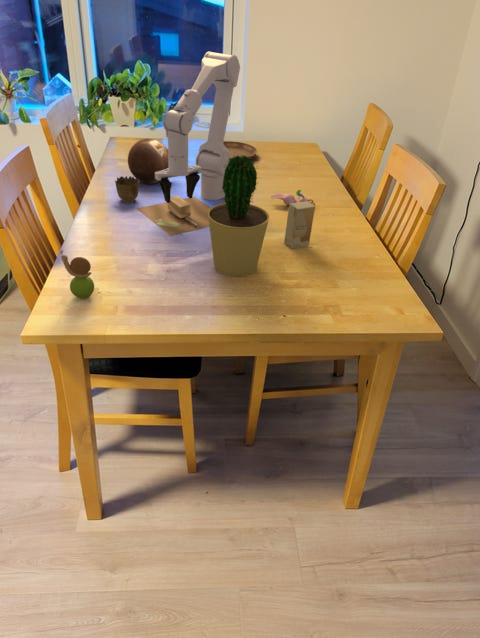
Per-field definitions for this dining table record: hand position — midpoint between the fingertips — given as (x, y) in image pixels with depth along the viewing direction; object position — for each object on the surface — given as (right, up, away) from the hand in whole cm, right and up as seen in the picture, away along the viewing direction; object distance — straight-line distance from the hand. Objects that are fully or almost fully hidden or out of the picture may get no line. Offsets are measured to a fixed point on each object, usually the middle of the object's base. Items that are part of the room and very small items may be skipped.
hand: (178, 199), depth 157 cm
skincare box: (+35, -15, -7) cm, 39 cm away
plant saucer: (+15, +30, +56) cm, 66 cm away
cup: (-17, +1, +10) cm, 20 cm away
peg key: (+2, -6, +1) cm, 6 cm away
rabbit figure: (+36, +2, +17) cm, 40 cm away
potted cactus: (+17, -23, -20) cm, 35 cm away
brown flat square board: (+1, -5, +3) cm, 6 cm away
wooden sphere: (-13, +12, +27) cm, 32 cm away
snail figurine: (-19, -31, -35) cm, 51 cm away
